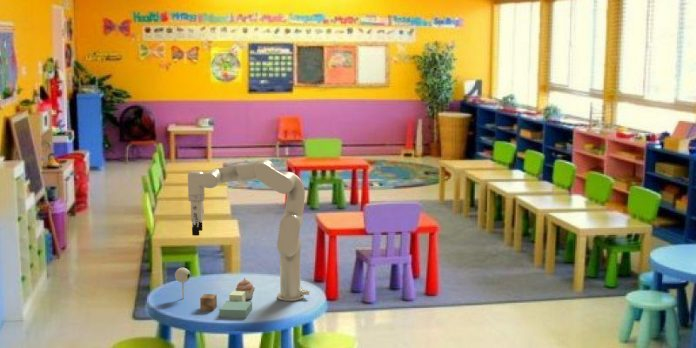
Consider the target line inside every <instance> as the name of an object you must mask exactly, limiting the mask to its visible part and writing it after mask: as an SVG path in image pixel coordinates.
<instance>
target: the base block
mask: <svg viewBox="0 0 696 348" xmlns="http://www.w3.org/2000/svg"><path fill="white" fill-rule="evenodd" d="M252 310H253V302H252V301H245V302H237V301H230V300H226V301H225V302H224V303H223V304H222V306H221V307H220V308H219V318H227V317H229V318H228V319H231V318H232V319H233V318H234V319H247V318H248V316H249V315H250V313H251V312H252Z"/></svg>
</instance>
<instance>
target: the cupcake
mask: <svg viewBox="0 0 696 348" xmlns="http://www.w3.org/2000/svg"><path fill="white" fill-rule="evenodd" d="M255 289H256V287H254V285H253V283H252V282H251V281H250V280H249V279H248V278H245V277H244V278H243V280H240V281H239V282H238V284H237V285H236V288H235V290H234V291H245V301H249V300H251V299H253V297H254V292H255Z"/></svg>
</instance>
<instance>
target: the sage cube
mask: <svg viewBox="0 0 696 348" xmlns="http://www.w3.org/2000/svg"><path fill="white" fill-rule="evenodd" d="M229 301H237V302H246V300H245V291H236V290H232V291H231V292H230V293H229Z"/></svg>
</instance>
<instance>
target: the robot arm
mask: <svg viewBox="0 0 696 348" xmlns="http://www.w3.org/2000/svg"><path fill="white" fill-rule="evenodd" d="M251 181H259V182H260V183H262V184H264V185H265V186H266V187H269V188H270V189H272V190H273V191H275V192H277V193H278V194H282V195H285V194H286V200H285V207H284V209H285V210H284V213H283V215H282V217H281V218H280V222H279V228H278V236H277V243H276V249H277V252H278V254H279V255H280V256H279V264H280V265H279V282H280V283H279V284H280V286H279V288H280V290H279V291H280V292H279V293H278V294H276V298H277V299H278V300H280V301H284V302H285V301H286V302H295V301H296V302H297V301H301V300H302V299H303V298H305V296H310V293H311V292H310V290H308V289H303V287H302V286H301V250H302V241H301V238H300V230H301V227H302V225H303V219H304V218H303V215H304V209H305V198H306V197H305V194H306V191H305V190H306V189H305V185H304V183H303V181H302V180H301V178H300V177H299V176H298V175H296V174H295V173H294V172H292V171H285V172H282V173H281V172H280V171H278V170H276V169H275V165H274V163H273V162H272V161H271V160H269V159H264V160H263V159H261V160H257V161H252V162H247V163H246V162H245V163H240V164H236V165H228V166H223V167H218V168H214V169H211V170H209V171H208V172H203V171H200V170H192V171H189V172H188V173H187V192H188V193H187V195H188V196H187V197H188V198H187V199H188V202H190V221H191V223H192V225H191V232H192V233H191V234H192V236H196V237H197V236H200V232H201V231H203V221H204V219H205V209H204V202H205V201H206V200H205V199H206V198H205V189H214V188H216V187H217V186H218V185H219V184H225V183H230V182H238V183H248V182H251Z"/></svg>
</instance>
